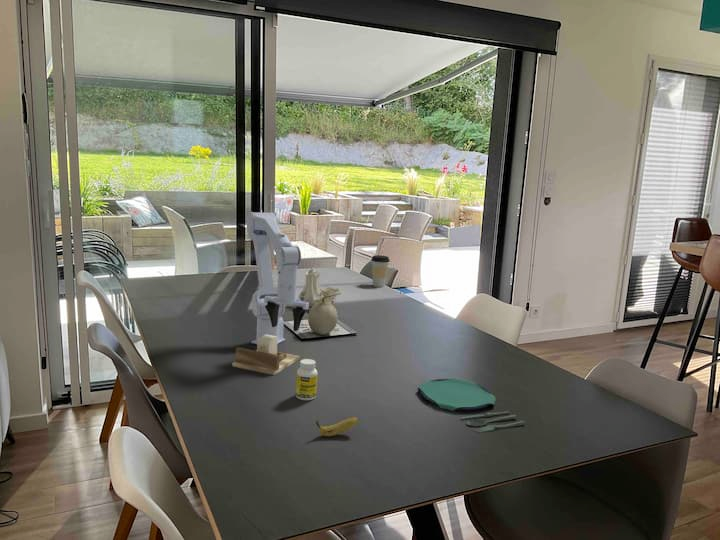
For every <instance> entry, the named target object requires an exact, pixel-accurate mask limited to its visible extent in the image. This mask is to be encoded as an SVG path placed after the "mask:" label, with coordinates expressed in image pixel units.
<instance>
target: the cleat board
mask: <svg viewBox="0 0 720 540" xmlns="http://www.w3.org/2000/svg"><path fill="white" fill-rule="evenodd" d="M234 353H235V356H234V357H235V361H233V362H232V363H231V364H232V365H231V366H232V367H235V368H239V369H244V370H248V371H253V372H257V373H262V374H267V375H271V376H275V375H277V374H278V373H280V372H281V371H283V370H285V369H286V368H288V367H290V366H291V365H293V364H295V363H296V362H298V361H299V360H300V359H301V356H300V355H296V354H291V353H286V352H281V351H277V355H274V354H269V353H264V352H259V351H257V350H254V349H249V348H243V347H236V348H235V352H234Z"/></svg>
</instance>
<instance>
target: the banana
mask: <svg viewBox="0 0 720 540" xmlns="http://www.w3.org/2000/svg"><path fill="white" fill-rule="evenodd" d="M358 421H359V418H358V417H356V416H355V417H354V416H353V417H349V418H346V419H344V420H342V421H340V422H338V423H336V424H332V425H327V426H322V425H320V424H319V420H316V423H315V424H316V426H317V427H318V431H319V434H321V436H324V437H335V436H338V435H340V434H342V433H344V432H346V431H348V430H350V429H351V428H353V427H354V426H355V425H356V424H357V423H358Z"/></svg>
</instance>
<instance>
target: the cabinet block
mask: <svg viewBox="0 0 720 540" xmlns="http://www.w3.org/2000/svg"><path fill="white" fill-rule="evenodd" d="M256 339H257V344H256V351H259V352H264V353H269V354H274V355H277V352H278V344H277V340H278V336H273V335H267V334H266V335H264V336H261V337H259V338H257V337H256Z"/></svg>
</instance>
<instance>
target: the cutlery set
mask: <svg viewBox="0 0 720 540" xmlns="http://www.w3.org/2000/svg"><path fill="white" fill-rule="evenodd" d="M417 390H418V391H419V392H420V394H421V395H422V397H423V398H424V399H426V400H427V401H428V402H431V403H432V404H434V405H438V407H439V408H440V409H443V410H447V411H451V412H454V411H455V410H461V411H471V410H472V411H474V410H480V409H483V408H486V407H488V406H489V405H492V407H494V406H495V403H496V402H497V399H496V396H495V395H494V394H493V393H491V391H490V390H489V389H487V388H486V387H484V386H482V385H479V384H477V382H475V381H470V380H466V379H461V378H456V377H455V378H436V379H433V380H425V381H423V382H421V384H420V385H419V386H418V387H417ZM501 414H508V415H506V416H500V417H496V418H493V419H489V420H486V419H481V418H488V417H493V416H495V415H501ZM513 419H517V415H516V414H511V415H509V410H506V411H503V412H490V411H489V412H487V413H486V412H484V414H475V415H474V414H472V415H468V416H462V417H461V418H460V421H463V420H468V421H466V422H465V423H466V424H467V425H468V426H470V427H476V428H473V431H474V432H475V433H477V434H478V433H486V432H494V431H495V430H497V429H505V428H506V429H508V428H512V427H517V426H518V427H519V426H525V424H526V423H525V420H520V421H519V420H518V421H515V422H512V423H507V424H497V425H496V424H489V423H493V422H498V421H502V420H513ZM475 422H477V423H478V422H479V423H483V424H480V425H479V424H476V425H473V424H472V423H475ZM486 424H489V425H487V426H485V425H486ZM477 427H479V428H477Z"/></svg>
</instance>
